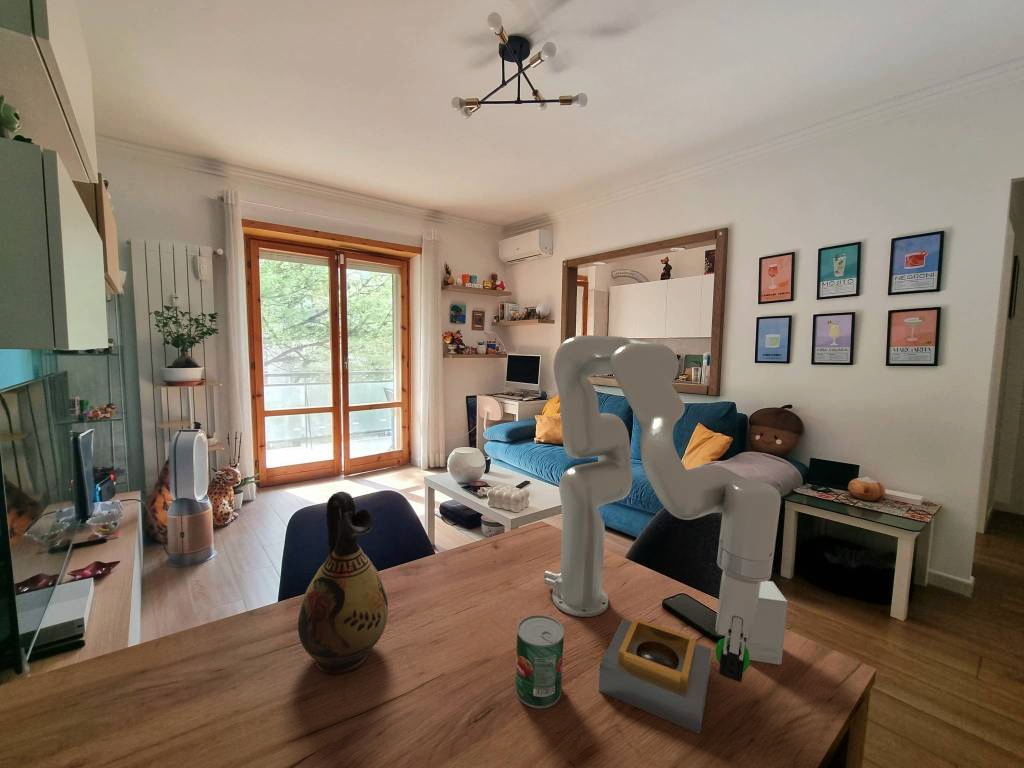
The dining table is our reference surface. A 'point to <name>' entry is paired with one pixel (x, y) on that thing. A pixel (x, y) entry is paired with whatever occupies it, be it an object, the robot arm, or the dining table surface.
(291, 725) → the dining table surface
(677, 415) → the robot arm
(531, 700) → the canned tomato
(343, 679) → the dining table surface
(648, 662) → the grey yellow socket base
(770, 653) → the supplement box
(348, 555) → the ceramic jug
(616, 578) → the dining table surface
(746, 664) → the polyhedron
